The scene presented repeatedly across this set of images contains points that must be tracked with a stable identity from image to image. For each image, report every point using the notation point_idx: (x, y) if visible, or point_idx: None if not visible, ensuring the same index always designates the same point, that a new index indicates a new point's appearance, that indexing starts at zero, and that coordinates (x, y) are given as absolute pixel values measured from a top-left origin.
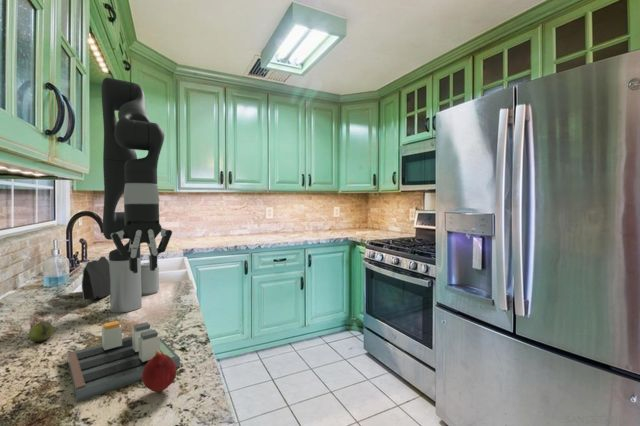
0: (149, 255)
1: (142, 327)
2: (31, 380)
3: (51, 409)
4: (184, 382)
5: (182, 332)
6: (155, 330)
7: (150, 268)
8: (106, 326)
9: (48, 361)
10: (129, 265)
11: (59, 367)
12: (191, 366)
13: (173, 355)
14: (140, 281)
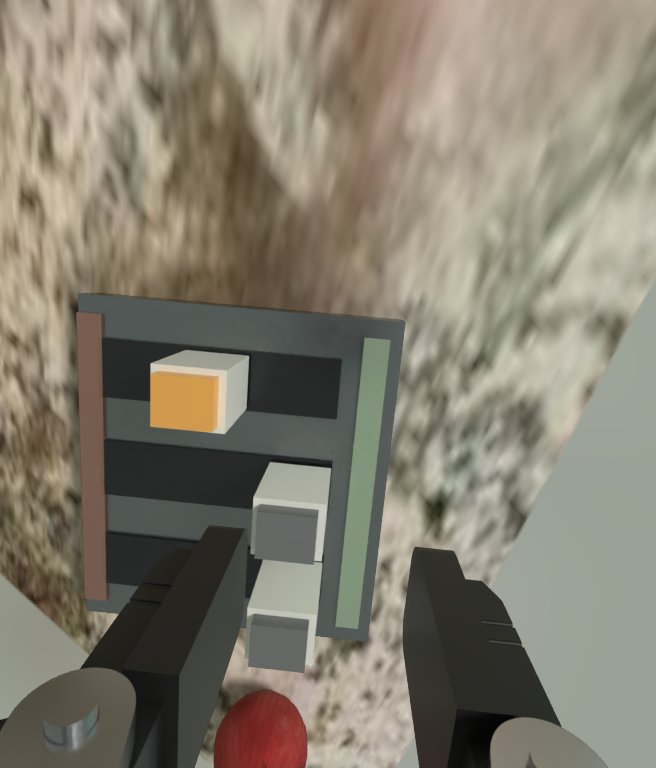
0: (459, 714)
1: (280, 559)
2: (2, 359)
3: (53, 576)
4: (336, 701)
5: (519, 351)
6: (306, 645)
7: (412, 592)
8: (155, 425)
9: (42, 229)
10: (135, 606)
11: (73, 321)
12: (392, 641)
13: (357, 619)
14: None
